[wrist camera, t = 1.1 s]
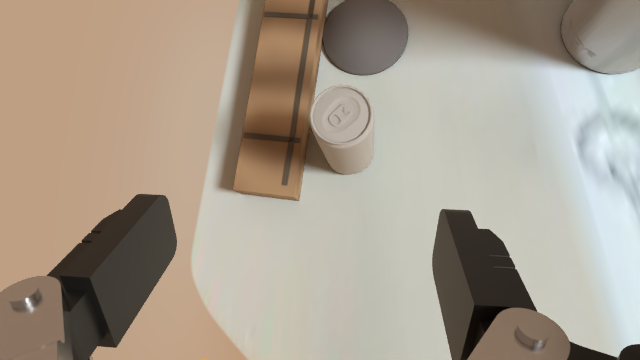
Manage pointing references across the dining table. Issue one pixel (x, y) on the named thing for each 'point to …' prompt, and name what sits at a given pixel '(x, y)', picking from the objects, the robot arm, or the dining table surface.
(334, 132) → the beverage can
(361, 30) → the end pad
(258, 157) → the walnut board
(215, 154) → the dining table surface
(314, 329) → the dining table surface
